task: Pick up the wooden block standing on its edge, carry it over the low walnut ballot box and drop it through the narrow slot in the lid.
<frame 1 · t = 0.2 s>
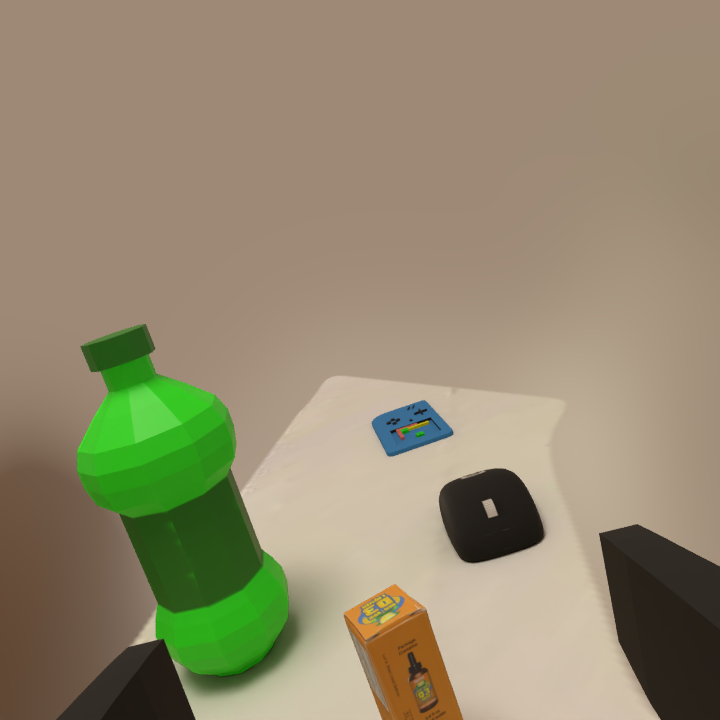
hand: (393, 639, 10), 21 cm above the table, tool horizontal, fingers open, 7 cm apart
computer mouse: (489, 524, 54), on the table
plastic bottle: (242, 652, 47), on the table
handheld gaming device: (410, 431, 82), on the table
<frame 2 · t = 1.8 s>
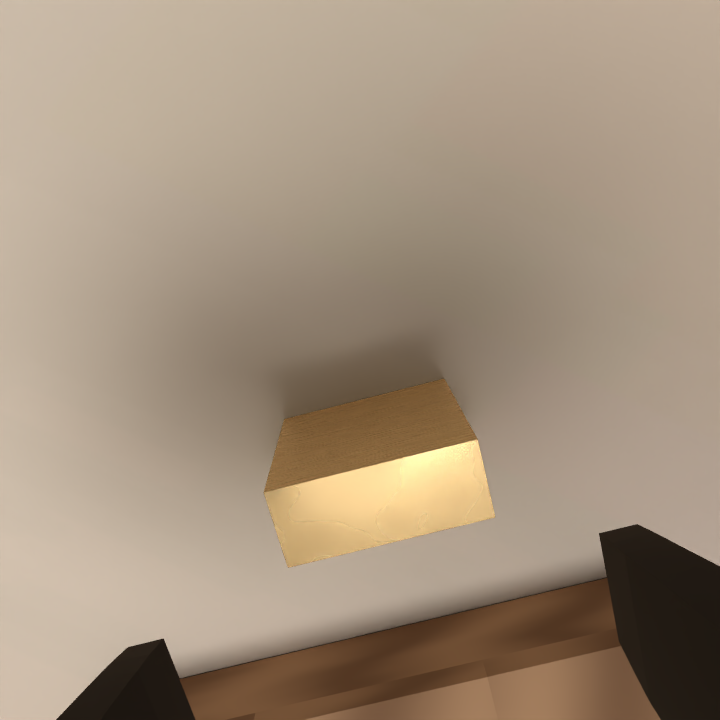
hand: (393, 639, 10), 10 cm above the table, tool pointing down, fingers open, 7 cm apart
wooden block: (371, 428, 19), on the table
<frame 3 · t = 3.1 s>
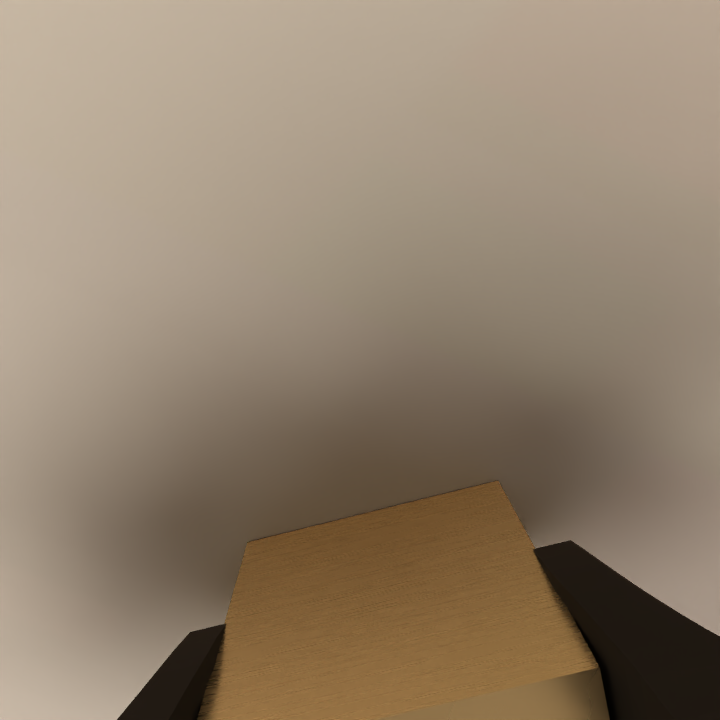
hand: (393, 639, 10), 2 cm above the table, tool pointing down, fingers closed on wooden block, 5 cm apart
wooden block: (384, 556, 12), on the table, touching gripper
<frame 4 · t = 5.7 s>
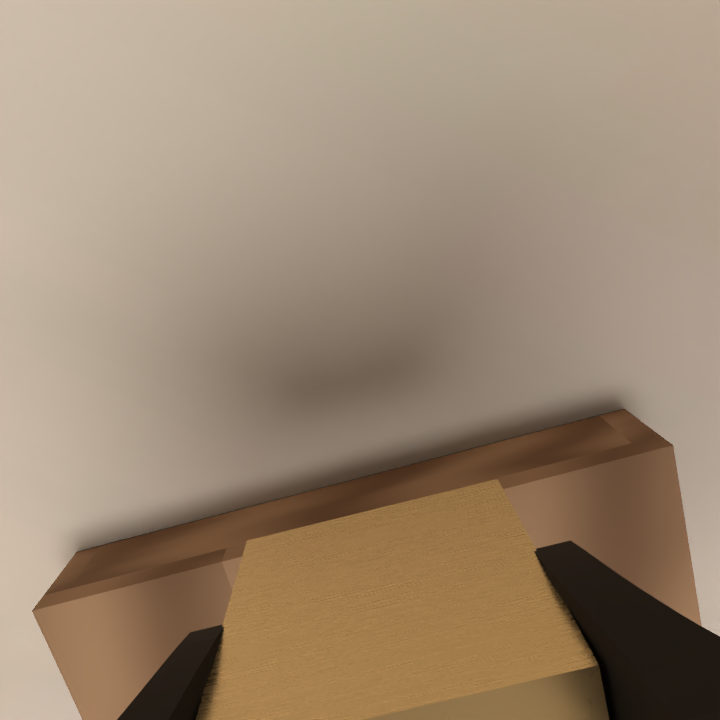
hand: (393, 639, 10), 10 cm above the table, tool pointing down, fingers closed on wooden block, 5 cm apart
wooden block: (383, 554, 12), point 7 cm above the table, touching gripper
ballot box: (399, 662, 22), on the table
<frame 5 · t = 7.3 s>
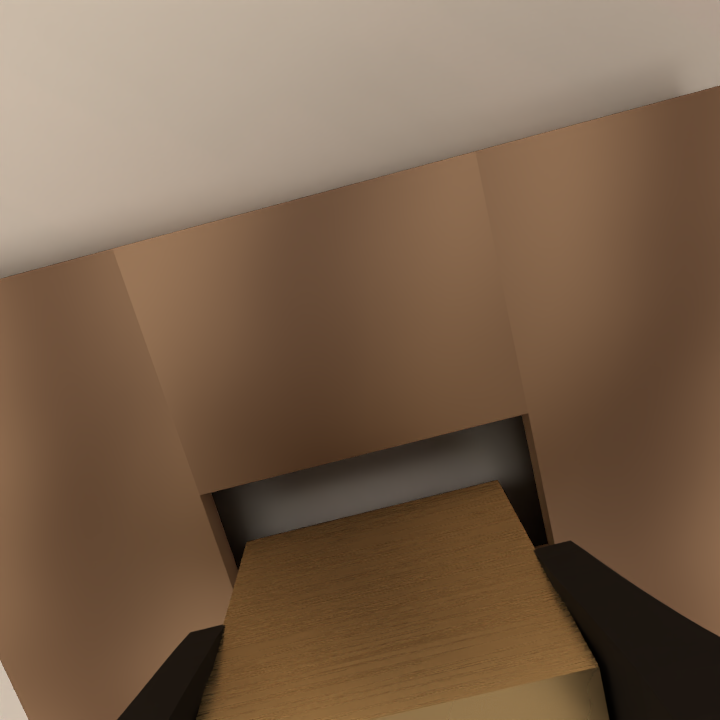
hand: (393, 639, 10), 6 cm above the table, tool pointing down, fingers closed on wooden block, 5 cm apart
wooden block: (383, 555, 12), point 4 cm above the table, touching gripper
ballot box: (376, 470, 16), on the table
when the fingers open (4 cm above the table, at t = 8.4 s): wooden block drops 2 cm, resting in ballot box.
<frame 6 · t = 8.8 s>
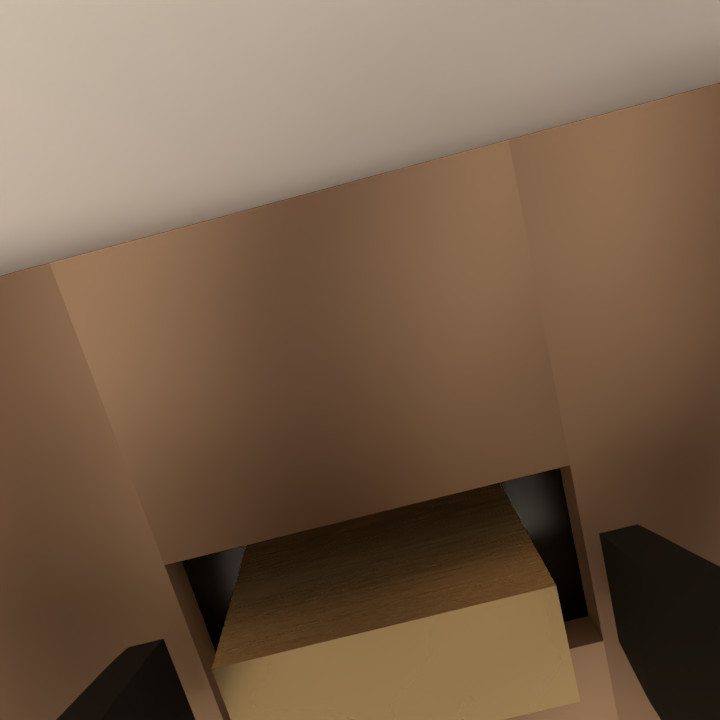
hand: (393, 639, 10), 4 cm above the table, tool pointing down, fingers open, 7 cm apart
wooden block: (379, 517, 14), resting in ballot box
ballot box: (380, 519, 14), on the table
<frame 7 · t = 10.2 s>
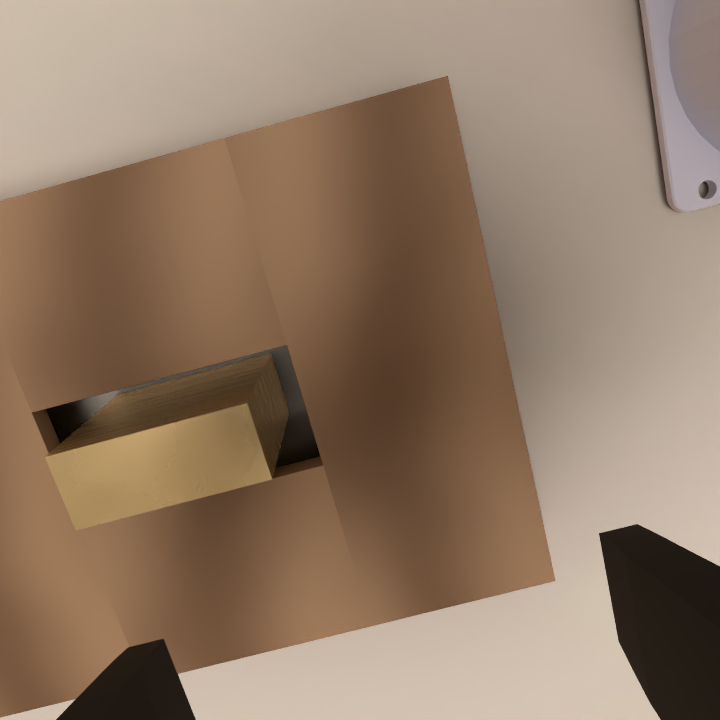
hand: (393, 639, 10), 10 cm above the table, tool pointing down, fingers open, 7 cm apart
wooden block: (204, 403, 20), resting in ballot box
ballot box: (203, 404, 20), on the table
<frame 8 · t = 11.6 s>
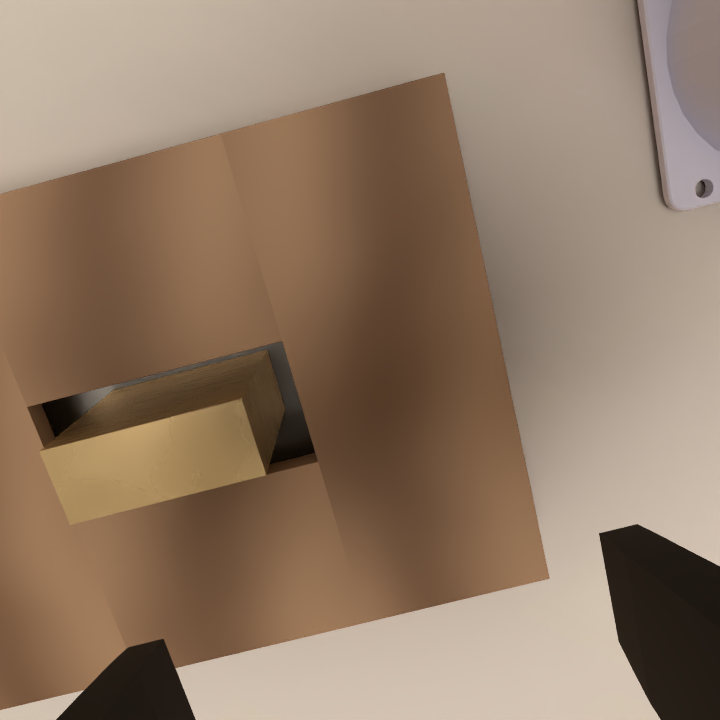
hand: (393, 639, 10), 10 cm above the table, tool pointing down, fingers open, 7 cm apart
wooden block: (200, 399, 20), resting in ballot box
ballot box: (199, 400, 20), on the table
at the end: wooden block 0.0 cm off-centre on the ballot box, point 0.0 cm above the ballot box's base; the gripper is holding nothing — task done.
